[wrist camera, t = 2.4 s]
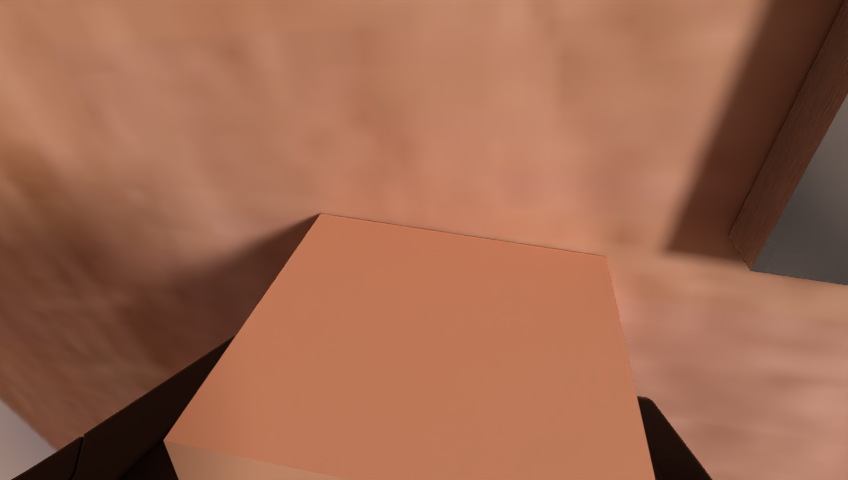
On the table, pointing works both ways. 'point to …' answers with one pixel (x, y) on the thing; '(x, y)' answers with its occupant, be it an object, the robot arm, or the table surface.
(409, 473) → the hollow block with latch
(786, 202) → the grey square base plate
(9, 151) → the table surface
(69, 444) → the robot arm
